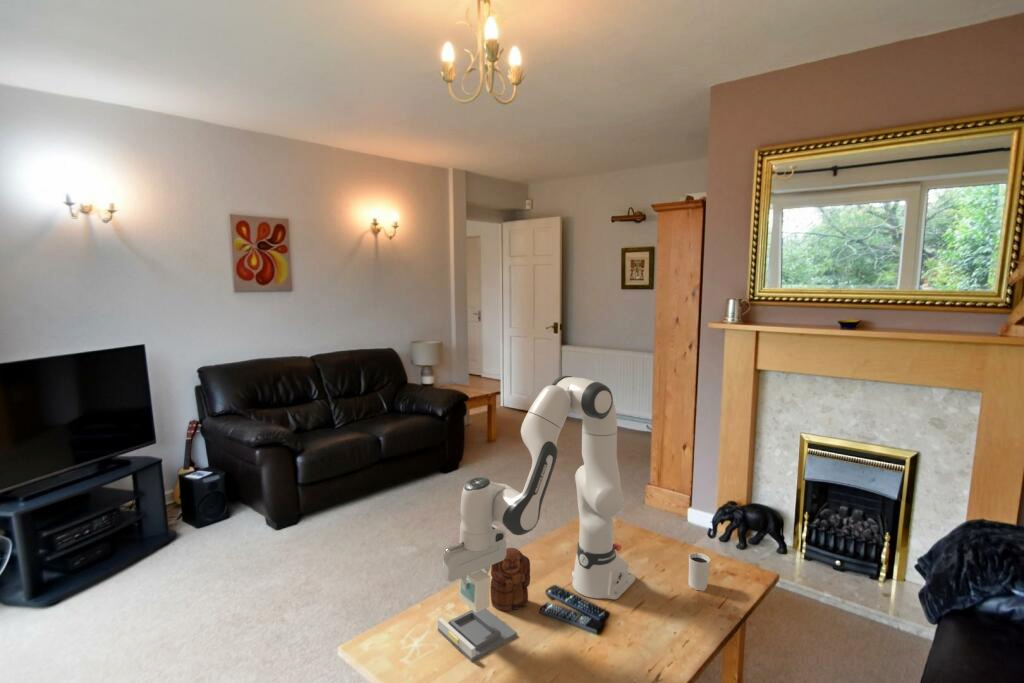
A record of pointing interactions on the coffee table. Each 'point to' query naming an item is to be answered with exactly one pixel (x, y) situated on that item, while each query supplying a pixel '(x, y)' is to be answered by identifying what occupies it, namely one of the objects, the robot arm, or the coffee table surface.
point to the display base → (476, 632)
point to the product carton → (476, 591)
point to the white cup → (698, 570)
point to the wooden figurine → (510, 581)
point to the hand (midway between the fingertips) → (474, 584)
